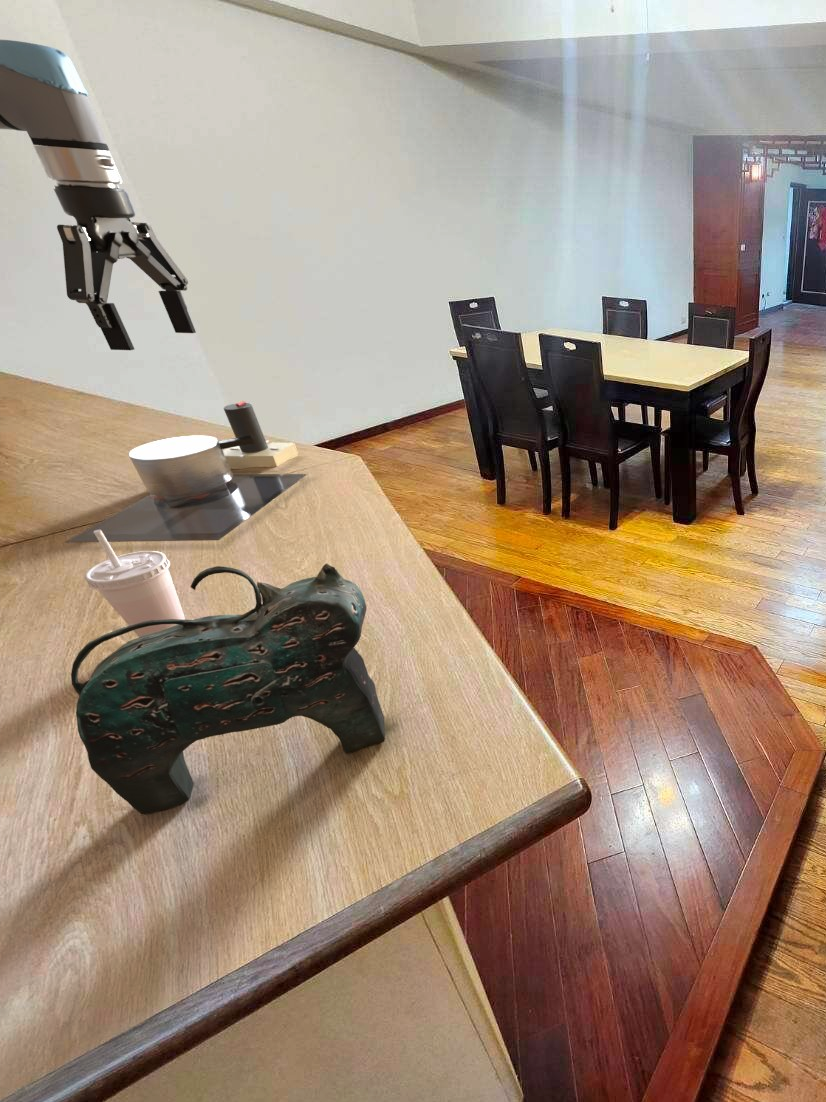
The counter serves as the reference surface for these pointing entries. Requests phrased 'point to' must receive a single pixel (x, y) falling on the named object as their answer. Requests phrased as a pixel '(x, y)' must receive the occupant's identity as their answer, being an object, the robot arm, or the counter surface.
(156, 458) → the saucepan
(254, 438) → the dark grey cylinder
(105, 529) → the hob
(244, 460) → the cream base block
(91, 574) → the smoothie
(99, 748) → the ceramic cat
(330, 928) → the counter surface
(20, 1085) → the counter surface
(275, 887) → the counter surface
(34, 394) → the counter surface
